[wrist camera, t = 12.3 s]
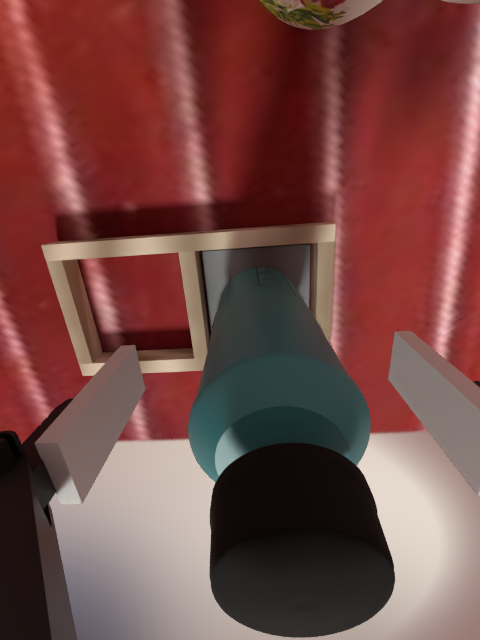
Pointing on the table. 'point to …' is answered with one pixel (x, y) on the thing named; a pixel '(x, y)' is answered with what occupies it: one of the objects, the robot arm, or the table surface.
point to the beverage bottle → (286, 468)
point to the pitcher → (324, 11)
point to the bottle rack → (195, 281)
